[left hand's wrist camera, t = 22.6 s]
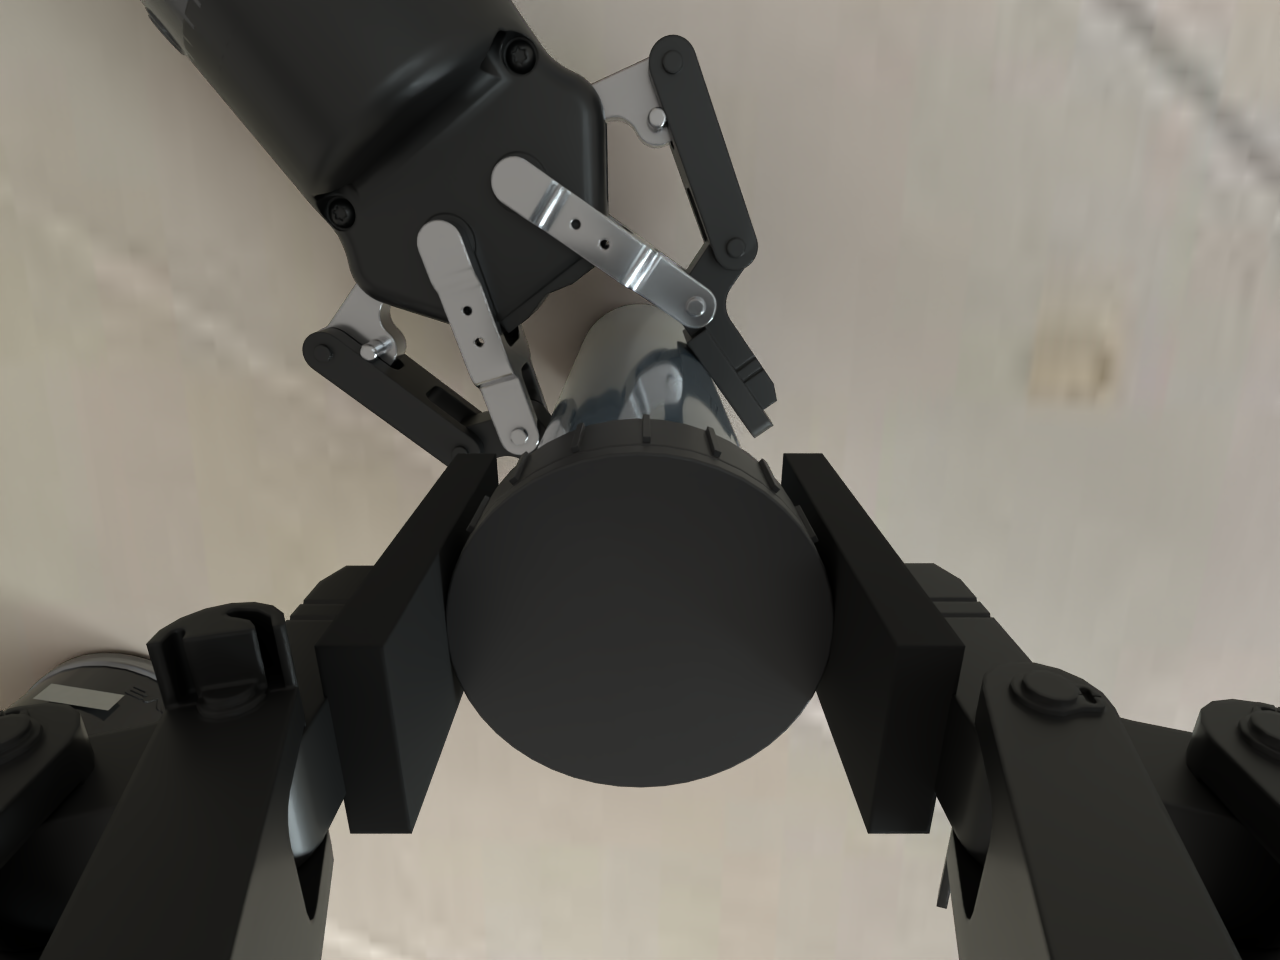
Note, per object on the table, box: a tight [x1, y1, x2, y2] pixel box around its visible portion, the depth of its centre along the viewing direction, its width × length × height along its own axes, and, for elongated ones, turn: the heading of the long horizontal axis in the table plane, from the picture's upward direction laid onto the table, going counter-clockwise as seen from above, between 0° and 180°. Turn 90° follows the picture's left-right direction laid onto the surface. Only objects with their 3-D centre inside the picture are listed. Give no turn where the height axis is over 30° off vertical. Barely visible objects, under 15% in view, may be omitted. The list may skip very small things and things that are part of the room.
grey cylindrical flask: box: [538, 304, 742, 449], centre depth 20 cm, size 5×5×18 cm
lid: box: [445, 414, 834, 787], centre depth 11 cm, size 6×6×2 cm
